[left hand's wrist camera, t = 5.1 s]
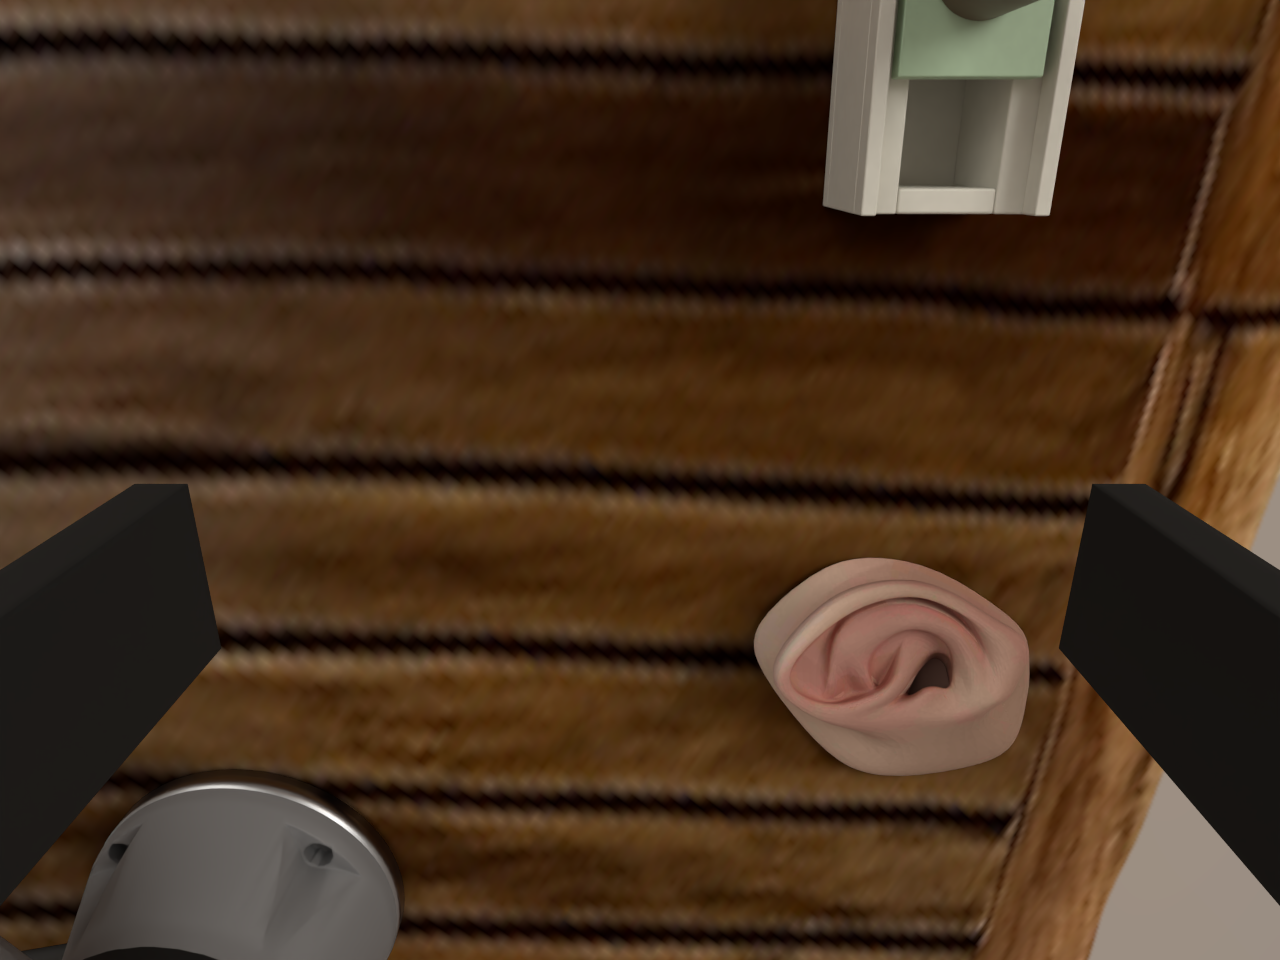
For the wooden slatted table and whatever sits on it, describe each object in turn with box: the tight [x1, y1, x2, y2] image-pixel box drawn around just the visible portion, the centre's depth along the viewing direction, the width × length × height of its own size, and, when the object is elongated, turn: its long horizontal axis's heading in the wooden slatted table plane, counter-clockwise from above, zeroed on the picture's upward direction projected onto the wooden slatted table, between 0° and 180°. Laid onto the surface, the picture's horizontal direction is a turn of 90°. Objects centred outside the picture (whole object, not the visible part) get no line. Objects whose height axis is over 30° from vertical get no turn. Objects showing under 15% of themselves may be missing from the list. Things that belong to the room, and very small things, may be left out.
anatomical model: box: [754, 558, 1029, 776], centre depth 38 cm, size 13×4×12 cm
